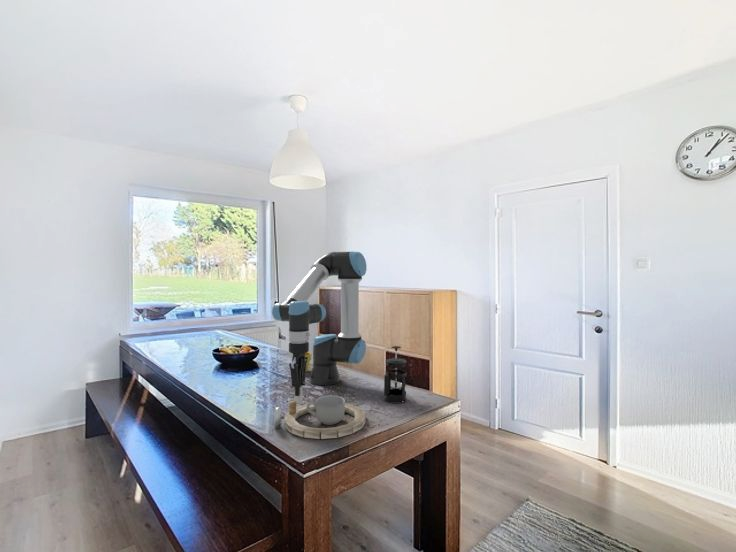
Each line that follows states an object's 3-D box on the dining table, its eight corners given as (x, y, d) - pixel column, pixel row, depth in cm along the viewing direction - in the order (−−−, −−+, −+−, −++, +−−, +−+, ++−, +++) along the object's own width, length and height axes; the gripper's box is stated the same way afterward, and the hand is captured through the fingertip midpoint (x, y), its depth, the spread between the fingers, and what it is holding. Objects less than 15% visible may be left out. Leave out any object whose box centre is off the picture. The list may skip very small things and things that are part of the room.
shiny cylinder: (276, 425, 133) (276, 406, 133) (284, 426, 133) (284, 407, 133) (273, 428, 131) (273, 408, 131) (281, 429, 130) (281, 409, 130)
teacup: (347, 416, 142) (347, 395, 142) (342, 428, 132) (342, 405, 132) (311, 415, 144) (311, 394, 144) (303, 426, 133) (303, 404, 133)
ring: (302, 404, 154) (302, 389, 154) (371, 409, 149) (371, 394, 149) (270, 434, 126) (270, 416, 126) (354, 442, 120) (355, 423, 120)
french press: (396, 394, 169) (396, 343, 169) (412, 399, 162) (412, 346, 162) (377, 400, 161) (378, 346, 161) (393, 406, 154) (394, 350, 154)
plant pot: (305, 367, 214) (305, 350, 214) (314, 371, 206) (314, 353, 206) (288, 370, 207) (288, 353, 207) (298, 374, 199) (298, 356, 199)
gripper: (301, 345, 136) (301, 410, 136) (313, 339, 149) (313, 398, 149) (282, 344, 138) (282, 408, 138) (296, 338, 150) (295, 397, 151)
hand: (298, 403), depth 143 cm, fingers closed
